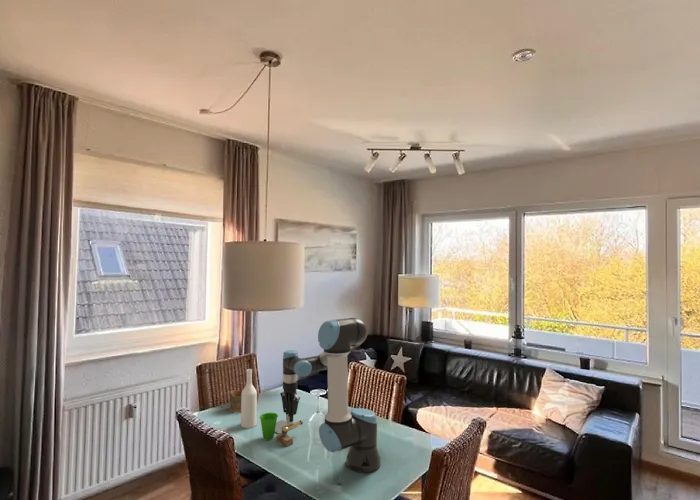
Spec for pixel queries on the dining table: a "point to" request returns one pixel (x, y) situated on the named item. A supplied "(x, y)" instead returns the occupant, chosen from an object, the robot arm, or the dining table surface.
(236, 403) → the mug
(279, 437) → the brown wooden block
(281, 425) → the felt pad
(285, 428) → the lever
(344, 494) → the dining table surface
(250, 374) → the bottle
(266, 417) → the cup
